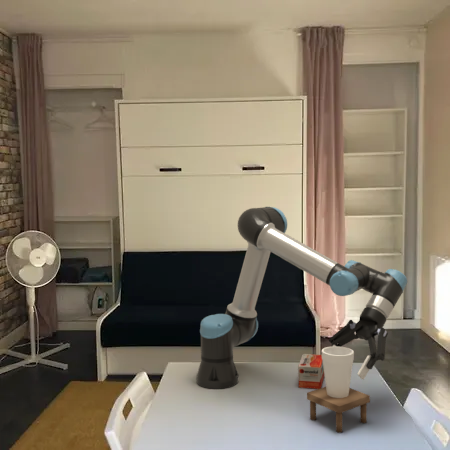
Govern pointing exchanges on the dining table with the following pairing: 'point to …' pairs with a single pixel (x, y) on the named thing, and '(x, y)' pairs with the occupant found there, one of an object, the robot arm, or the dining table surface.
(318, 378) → the medicine box
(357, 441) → the dining table surface
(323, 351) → the foam cup
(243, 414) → the dining table surface
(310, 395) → the stool
